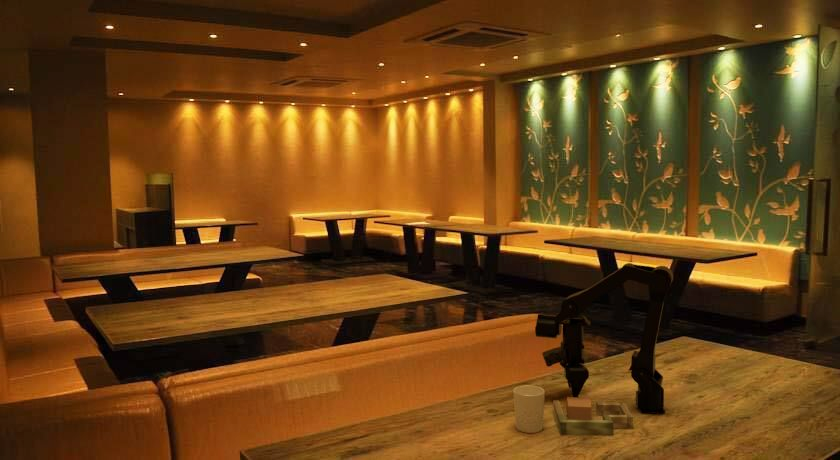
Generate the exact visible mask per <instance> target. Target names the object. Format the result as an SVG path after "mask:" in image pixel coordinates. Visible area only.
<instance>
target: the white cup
mask: <svg viewBox="0 0 840 460" xmlns="http://www.w3.org/2000/svg"><path fill="white" fill-rule="evenodd" d="M512 390H513V391H512V392H513V408H514V417H515V428H516V429H517V431H519V432H522V433H527V434H536V433H540V432H541V431H542V430H543V421H544V410H545V394H546V393H545V389H544V388H542V387H540V386H537V385H519V386H516V387H515V388H513V389H512Z"/></svg>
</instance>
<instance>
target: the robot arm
mask: <svg viewBox="0 0 840 460" xmlns="http://www.w3.org/2000/svg"><path fill="white" fill-rule="evenodd" d="M673 280H674V273H673V271H672V269H670V268H669V267H668V266H665V265H659V266H656V267H654V266H649V265H641V264H634V263H632V262H631V263H630V262H628V263H625V264H624V265H623V266H621V267H620V268H619V269H617V270H615V271H613V273H611V274H609V275H607V276H606V277H604V278H603V279H601V280H600V281H598V282H597V283H595V284H593V285H592V286H591V287H588V288H586V289H584V290H581V291H578V292H577V291H576V292H575V293H573V294H571V295H568V296H567V297H566V298H565V299H563V301H562V302H561V305H560V310H559V311H558V312H557V313H556V314H547V313H542V312H541V313H538V314H537V320H536V323H535V326H534V328H535V329H534V331H535V333H534V334H535V337H537V338H547V339H557V338H558V336H561V334H562V340H561V342H560V346H557V347H555V348H551V349H548V350H545V351H543V352H541V354H542V357H543V361H544V363H545V366H546V367H551V366H553V365H555V364H559V365H560V366H561V367H562V368H563V372H564V373H563V374H564V378H565V379H566V381H567V384H568V388H569V389H571V395H572V397H579V396H580V394H581V392H582V389H583V387H584V386H585V383H586V381H588V379H589V378H590V377H589V375H590V374H589V373H590V371H589V370H588V367H587V366H586V365H585V359H584V349H585V344H584V327H589V326H590V324H591V321H590V320H589V319H588V318H587V316H585V315H583V316H582V317H581V318H577V317H579V316H581V314H582V313H583V312H584V311H585V310H587V309H588V308H589V307H591V305H592V304H593V303H594V302H595V301H597V300H598V299H601V297H603V296H605V295H606V294H608V293H610V292H611V291H613V290H615V289H616V288H618V287H619V286H620V285H622V284H624V283H626V282H628V281H634V282H636V283H639V284H642V285H643V284H644V285H647V286H648V299H649V301H648V305H647V306H648V307H647V311H646V317H645V321H644V328H643V332H642V337H641V344H640V347H639V351H637V350H633V352H632V355H631V359H630V360H631V364H630V367H629V369H628V371H629V372H630V371H631V372H630V376H631V379H633V381H634V383H636V384H637V390H636V391H635V407H637V409H638V410H639V412H640V413H641V414H666V410H665V402H664V401H665V400H664V399H665V388H663V386H662V383H663V380H664V376H663V375H662V373H660V372H659V371H658V370H657V369H656V345H657V339H658V335H659V330H660V329H659V328H660V324H661V320H662V319H661V318H662V314H663V308H664V303H665V300H666V297H667V294H669V293H668V292H669V290H670V288H671V285H672V283H673ZM567 319H569V320H567Z"/></svg>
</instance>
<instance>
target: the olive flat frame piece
mask: <svg viewBox="0 0 840 460" xmlns="http://www.w3.org/2000/svg"><path fill="white" fill-rule="evenodd" d="M552 404H553V405H552V406H553V407H552V408H553V414H554V418H555V421H556V424H557V428H558V430H559V433H560V435H575V436H576V435H579V436H580V435H581V436H582V435H584V436H585V435H587V436H588V435H589V436H591V435H594V436H598V435H599V436H614V429H625V430H626V429H629V430H633V429H634V416H633V415H632V413H631V412H630V410H629V408H628V407H627V405H626V403H625V402H603V400H595V412H596V414H597V416H602V419H600V420H599V419H592V420H568V419H566V417H565V415H564V412H563V409H562V406H561V403H560V401H559V400H553V403H552Z"/></svg>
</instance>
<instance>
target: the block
mask: <svg viewBox="0 0 840 460" xmlns="http://www.w3.org/2000/svg"><path fill="white" fill-rule="evenodd" d="M566 412H567V420H593V419H592V418H593V417H592V403H591V399H590V397H579V396H578V397H573V396H572V397H571V396H567V397H566Z"/></svg>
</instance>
